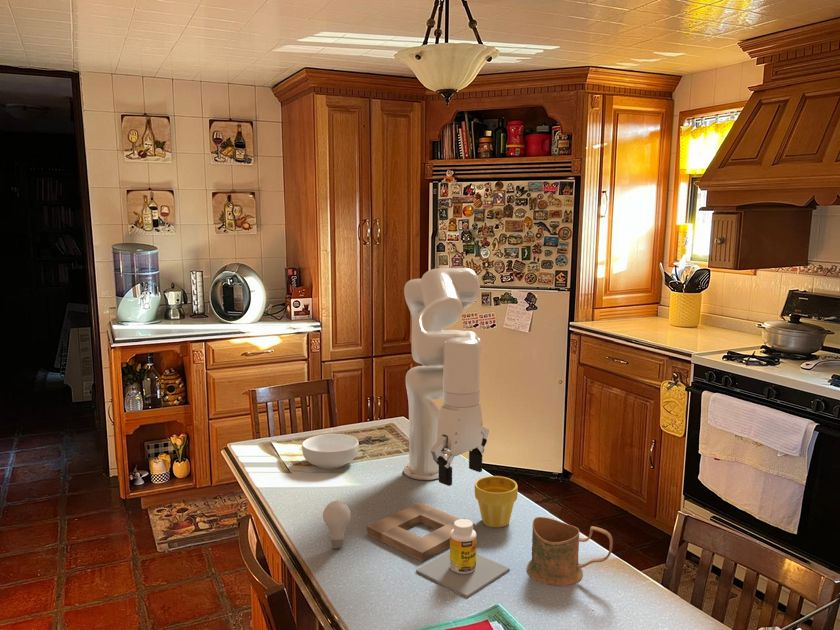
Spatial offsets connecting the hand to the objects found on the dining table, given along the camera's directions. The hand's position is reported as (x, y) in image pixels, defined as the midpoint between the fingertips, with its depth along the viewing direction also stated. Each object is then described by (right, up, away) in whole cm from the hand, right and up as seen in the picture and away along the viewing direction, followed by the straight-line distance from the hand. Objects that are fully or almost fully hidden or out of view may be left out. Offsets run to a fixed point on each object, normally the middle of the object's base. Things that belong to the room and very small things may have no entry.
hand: (460, 476), depth 141 cm
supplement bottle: (+1, -20, +2) cm, 20 cm away
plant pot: (+10, -17, +24) cm, 31 cm away
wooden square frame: (-8, -18, +18) cm, 27 cm away
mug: (+22, -21, 0) cm, 31 cm away
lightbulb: (-27, -19, +12) cm, 35 cm away
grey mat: (+1, -20, +2) cm, 20 cm away
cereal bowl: (-35, -11, +62) cm, 72 cm away
